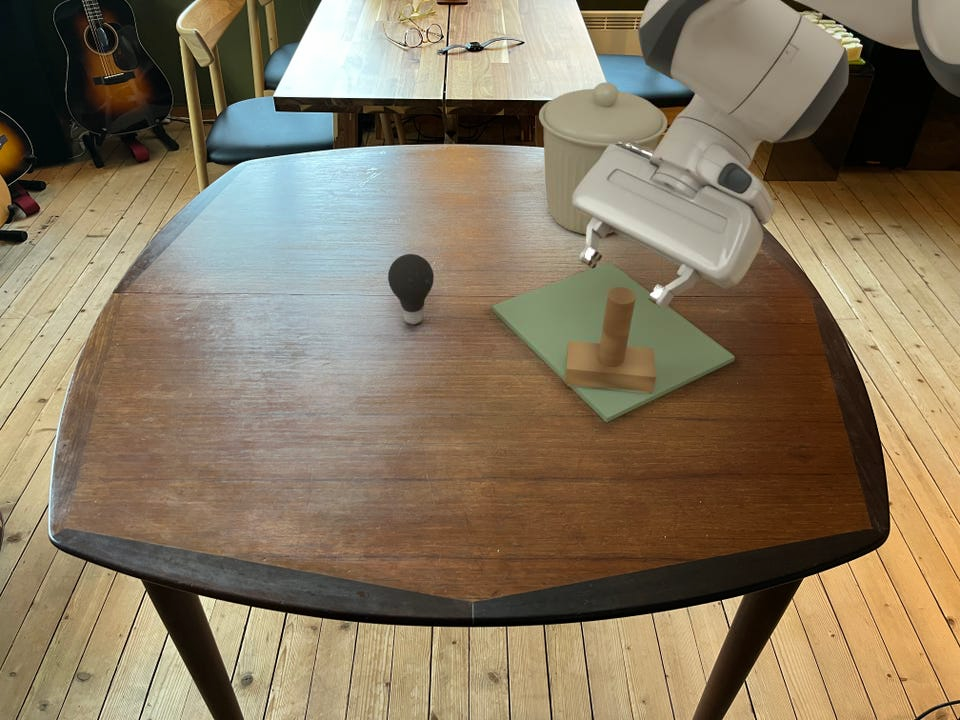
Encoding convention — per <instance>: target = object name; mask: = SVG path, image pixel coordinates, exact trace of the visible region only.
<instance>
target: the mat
mask: <svg viewBox="0 0 960 720" xmlns="http://www.w3.org/2000/svg"><path fill="white" fill-rule="evenodd" d="M616 287H624V288H627V289H630V290H632V291H633V292H634V293H635V295H636V300H635V305H634V310H633V316H632V321H631V326H630V332H629V337H628V342H627V346H633V347H644V348H654V356H655V370H656V379H655V384H654V388H653V392H649V394H645V393H634V392H624V391H613V390H603V389H592V388H582V387H571V386H569V388H571V390H572V391H574V392H575V394H577V395H578V396H579V398H580V399H582V400H583V402H585V403H586V404H587V405H588V407H590V408H591V410H593V411H594V412H595V413H596V414H597V415H598V416H599V417H600V418H601V419H602V420H603V421H604V422H605V423H609V422H610V421H612V420H615V419H617V418H619V417H621V416H623V415H625V414H627V413H629V412H633V411H634V410H636V409H638V408H640V407H642V406H644V405H647V404H648V403H650V402H653V401H655V400H656V399H658V398H660V397H662V396H664V395H667V394H669V393H671V392H673V391H675V390H678V389H679V388H682V387H683V386H685V385H687V384H690V383H692V382H694V381H695V380H698V379H700V378H702V377H704V376H707V375H708V374H710V373H713V372H715V371H717V370H719V369H721V368H723V367H725V366H727V365H729V364H731V363H733V362H734V361H735V359H736V356H735V355H733V353H731V352H730V351H728V350H727V349H726V348H725V347H723V346H722V345H720V343H718V342H716V341H715V340H714V339H713V338H711V337H710V336H708V335H707V334H706V333H704V332H703V331H702V330H700V328H698V327H696V326H695V324H693V323H691V322H690V321H688V320H687V318H685V317H683V315H681V314H679V313H678V312H677V311H675V310H674V309H673V308H672V307H670V306H669V305H668V306H667V307H666V308H665V309H662V308H660V307H658V306H657V305H655V304H653V303H652V302H651V301H649V295H650V294H651V293H652V292H651V291H649V290H647V289H646V288H645V287H644V286H643V285H641V284H640V283H638V282H637V281H636V280H635V279H633V278H632V277H631V276H629V275H627V274H626V272H624V271H622V269H620V268H618V267H617V266H616V265H614V264H613V263H612V262H611V261H608V262H606V263H602V264H600V265H597V266H596V267H595V268H594V269H592V268H590V269H587V270H584V271H581V272H578V273H576V274H573V275H571V276H568V277H565V278H562V279H560V280H557V281H555V282H551V283H549V284H547V285H543V286H541V287H538V288H536V289H533V290H530V291H527V292H525V293H522V294H520V295H517V296H514V297H511V298H509V299H506V300H502V301H501V302H497V303H495V304H492V305H491V311H492V312H493V313H494V314H495V316H496V317H498V318H499V319H500V320H501V321H502V322H503V323H504V324H505V325H506V327H508V328H509V329H510V330H511V331H512V332H513V333H514V334H515V335H516V336H517V337H518V338H519V339H520V340H521V341H522V342H523V343H524V344H525V345H526V346H527V347H528V348H530V350H531V351H532V352H534V354H536V355H537V356H538V358H540V359H541V360H542V361H543V362H544V363H545V364H546V365H547V366H548V367H549V368H550V369H551V370H552V371H553V372H554V373H555V374H556V375H557V376H558V377H559V378H560V379H561V380H562V381H563V382H564V383H565V373H566V357H567V348H568V341H577V342H588V343H599V344H600V340H601V334H602V327H603V321H604V314H605V308H606V301H607V295H608V292H609V290H611V289H612V288H616Z"/></svg>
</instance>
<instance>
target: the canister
mask: <svg viewBox="0 0 960 720" xmlns="http://www.w3.org/2000/svg"><path fill="white" fill-rule="evenodd" d="M538 119H539V122H540V124H541V125H542V127H543V153H544V154H543V155H544V175H545V176H544V177H545V191H546V192H545V193H546V200H547V201H546V202H547V207H548V210H549V211H548V212H549V213H550V215H551V217H552V218H553V219H554V221H555V222H556V223H557V224H559V225H560V226H561V227H563V228H564V229H567V230H569V231H572V232H574V233H577V234H583V235H586V230H587V225H588V224H589V222H590V219H589V218H587V217H585V216H583V215H582V214H581V213H580V212H579V211H578V210H577V209H576V208H575V207H574V206H573V204H572V195H573V193H574V191H575V189H576V188H577V186H578V185H579V184H580V182H581V181H582V180H583V178H584V177H585V176H586V175H587V173H588V172H589V171H590V170H591V168H592V167H593V166H594V165H595V164H596V163H597V162H598V160H599V159H600V157H601V156H602V154H603V153H604V151H605V150H606V148H607V147H608V146H609V145H610V144H613V143H616V142H620V141H624V140H631V141H634V142H635V143H636V144H638V145H641V146H644V147H647V148H650V149H652V150H655V149H656V148H657V146H658V145H659V140H660V137H661V136H663V134H664V133H665V132H666V130H667V127H668V119H667V116H666V115H665V114H664V112H663V111H662V110H661V109H660V108H658V107H657V106H655V105H654V104H652V102H650V101H648V100H647V99H645V98H643V97H641V96H638V95H636V94H633V93H629V92H625V91H621V90H619V89H618V87H617V86H616V85H615V84H614V83H611V82H607V81H605V82H600V83H599V84H597V85H596V86H594V88H586V89H579V90H574V91H569V92H565V93H563V94H561V95H558V96H556V97H555V98H553V99H551V100H549V101H548V102H546V103H544V105H543V106H542V107H541V108H540V110H539V113H538ZM619 147H622V145H619ZM611 233H614V232H613V231H612V230H609V232H608V233H607V235H609V234H611Z"/></svg>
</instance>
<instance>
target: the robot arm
mask: <svg viewBox="0 0 960 720" xmlns="http://www.w3.org/2000/svg"><path fill="white" fill-rule="evenodd" d="M793 1H795V2H797V3H799V4H802V5H804V6H806V7H808V8H811V9H813V10H814V11H817V12H819V13H821V14H822V15H824V16H826V17H829V18H830V19H833V20H834V21H836V22H838V23H840V24H841V25H843V26H845V27H846V28H847V27H848V28H849V29H851V30H853V31H855V32H857V33H858V34H861V35H863V36H865V37H866V38H868V39H870V40H873V41H875V42H877V43H880V44H883V45H885V46H890V47H892V48H898V49H904V50H915V51H916V50H917V51H920V53H921V55H922V58H923V61H924V63H925V66H926V68H927V70H928V71H929V72H930V74H931V76H932V77H933V78H934V80H935V81H936V82H937V83H938V84H939V85H940V86H941V87H942V88H943V89H945V90H946V91H947V92H948V93H950V94H952V95H954V96H956V97H957V98H958V97H959V98H960V0H793ZM637 36H638V42H639V46H640V47H639V48H640V49H641V55H642V58H643V61H644V63H645V65H646V66H647V67H649V68H651V69H652V70H655V72H657V73H660V74H661V75H663V76H665V77H667V78H669V79H670V80H675V81H676V82H677V83H679V84H681V85H682V86H683V87H685V88H687V89H688V90H690V91H691V92H693V93H694V95H693V97H692V99H691V100H690V102H689V104H687V106H686V107H685V108H683V110H682V111H681V112H679V114H677V115H676V117H675V118H674V120H673V121H672V123H671V124H670V126H669V128H668V129H667V131H665V134H664V135H663V137H662V139H661V140H660V141H659V142H658V144H657V147H656V149H655V150H652V149H650V148H647V147H644V146H641V145H638V144H636V143H635V142H634V141H631V140H624V141H620V142H616V143H613V144H610V145H609V146H608V147H607V148H606V150H605V151H604V153H603V154H602V156H601V157H600V159H599V160H598V162H597V163H596V164H595V165H594V166H593V167H592V168H591V170H590V171H589V172H588V173H587V175H586V176H585V177H584V178H583V180H582V181H581V182H580V184H579V185H578V186H577V188H576V189H575V191H574V193H573V195H572V204H573V206H574V207H575V208H576V209H577V210H578V211H579V212H580V213H581V214H582V215H583V216H585V217H587V218H589V219H590V222H589V224H588V225H587V230H586V234H585V244H584V245H585V246H584V247H583V249H582V250H581V252H580V253H579V255H578V261H579V262H580V263H582V264H583V265H585V266H586V267H589V268H590V269H594V268H595V267H597V266H598V263H599V262H601V259H603V254H601V253H600V252H599V245H600V238H602V239H603V238H606V236H607V235H608V234H607V233H608V232H609V230H612V231H613V232H612V233H615V234H617V235H619V236H621V237H622V238H625V239H627V240H629V241H631V242H633V243H634V244H637V245H638V246H640V247H643V248H644V249H646V250H648V251H650V252H652V253H654V254H655V255H657V256H659V257H661V258H663V259H665V260H667V261H670V262H671V263H673V264H675V265H676V266H678V267H679V269H678V270H677V271H676V274H677V276H679V277H677V278H675V279H674V280H673V281H670V283H668V284H666V285H664V286H662V285H661V284H659V283H656V285H655V287H653V291H652V292H650V293H651V294H650V295H649V301H651V302H652V303H653V304H655V305H657V306H658V307H660V308H662V309H665V308H666V307H667V306H669V305H670V303H671V301H672V300H673V298H674V297H675V296H676V297H677V296H678V295H680V294H682V293H683V292H686V291H687V290H689V289H691V288H693V287H694V286H695V285H696V283H697V282H698V280H699V279H700V278H701V279H703V280H705V281H708V282H710V283H711V284H713V285H715V286H717V287H719V288H721V289H723V290H728V289H730V288H733V287H735V286H737V285H738V284H739V283H740V282H741V281H742V279H743V278H744V277H745V275H746V274H747V272H748V270H749V268H750V267H751V265H752V264H753V261H754V259H755V258H756V256H757V254H758V252H759V250H760V248H761V245H762V242H763V239H764V231H763V228H762V226H763V225H767V224H768V223H769V222H770V221H771V220H772V218H773V217H774V215H775V212H776V209H775V204H774V202H773V199H772V197H771V195H770V194H769V191H768V189H767V188H766V186H765V185H764V183H763V182H762V181H761V180H760V179H759V178H758V177H757V176H756V175H755V174H754V173H753V172H752V171H750V170H749V167H750V166H751V164H752V163H753V160H754V158H755V154H756V152H757V149H758V147H759V146H760V145H761V143H762V142H763V141H766V142H769V144H779V143H785V142H786V143H787V142H791V141H797V140H802V139H807V138H809V137H810V136H812V135H813V134H814V133H815V132H816V131H817V130H818V129H819V128H820V126H821V125H822V124H823V122H824V121H825V119H826V118H827V117H828V115H829V114H830V112H831V111H832V109H833V108H834V106H835V105H836V103H837V102H838V100H839V99H840V97H841V96H842V94H843V93H844V91H845V90H846V88H847V86H848V84H849V73H850V65H849V56H848V50H847V48H846V47H845V46H844V45H843V44H842V43H841V42H840V41H839V40H838V39H837V38H836V37H834V36H833V35H832V34H830V33H829V32H828V31H826V30H825V29H824V28H822V27H821V26H820V25H818V24H817V23H815V22H814V21H812V20H811V19H810V18H808V17H807V16H805V15H804V14H802V13H800V12H799V11H797V10H796V9H794V8H792V7H791V6H790V5H788V4H786V3H785V2H784V1H782V0H648V1H647V3H646V5H645V7H644V10H643V12H642V15H641V19H640V22H639V24H638V27H637ZM619 145H622V147H619Z"/></svg>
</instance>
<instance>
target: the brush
mask: <svg viewBox="0 0 960 720" xmlns="http://www.w3.org/2000/svg"><path fill="white" fill-rule="evenodd" d="M635 300H636V295H635V293H634V292H633V291H632V290H630V289H627V288H624V287H616V288H612V289H611V290H609V292H608V295H607V301H606V308H605V314H604V321H603V327H602V334H601V340H600V344H599V343H588V342H577V341H568V348H567V357H566V373H565V382H564V384H565V385H566V386H567V387H570V386H571V387H582V388H592V389H603V390H613V391H624V392H634V393H645V394H649V392H653V388H654V384H655V379H656V370H655V356H654V348H644V347H633V346H627V342H628V337H629V332H630V326H631V321H632V316H633V310H634V305H635ZM571 387H570V388H571Z"/></svg>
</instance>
